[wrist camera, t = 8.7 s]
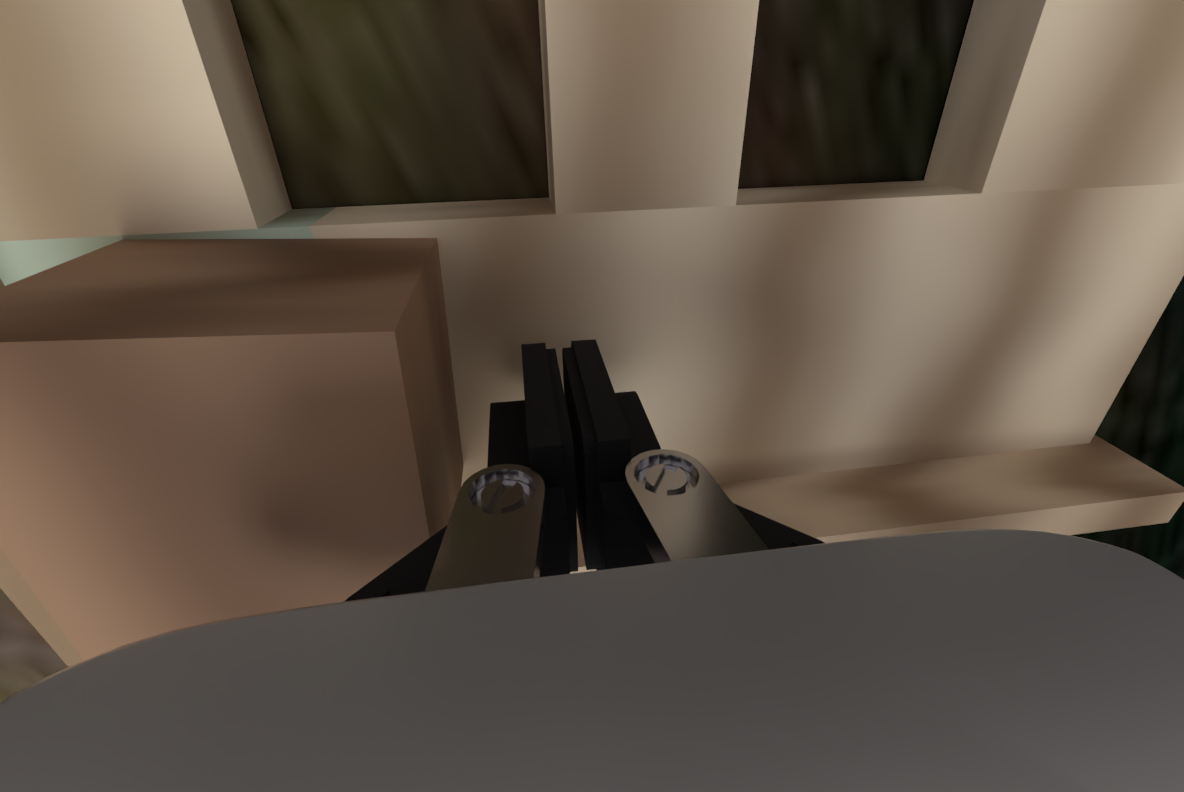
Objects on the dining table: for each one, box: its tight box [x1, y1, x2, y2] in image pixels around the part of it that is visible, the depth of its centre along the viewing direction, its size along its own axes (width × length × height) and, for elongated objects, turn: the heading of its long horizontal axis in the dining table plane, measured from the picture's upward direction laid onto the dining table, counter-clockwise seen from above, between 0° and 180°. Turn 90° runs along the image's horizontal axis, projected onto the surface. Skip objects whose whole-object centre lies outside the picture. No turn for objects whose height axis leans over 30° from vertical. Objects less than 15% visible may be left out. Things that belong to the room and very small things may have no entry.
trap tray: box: [0, 0, 1184, 667], centre depth 12 cm, size 30×15×4 cm, turn 91°
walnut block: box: [0, 238, 463, 661], centre depth 10 cm, size 6×6×5 cm
